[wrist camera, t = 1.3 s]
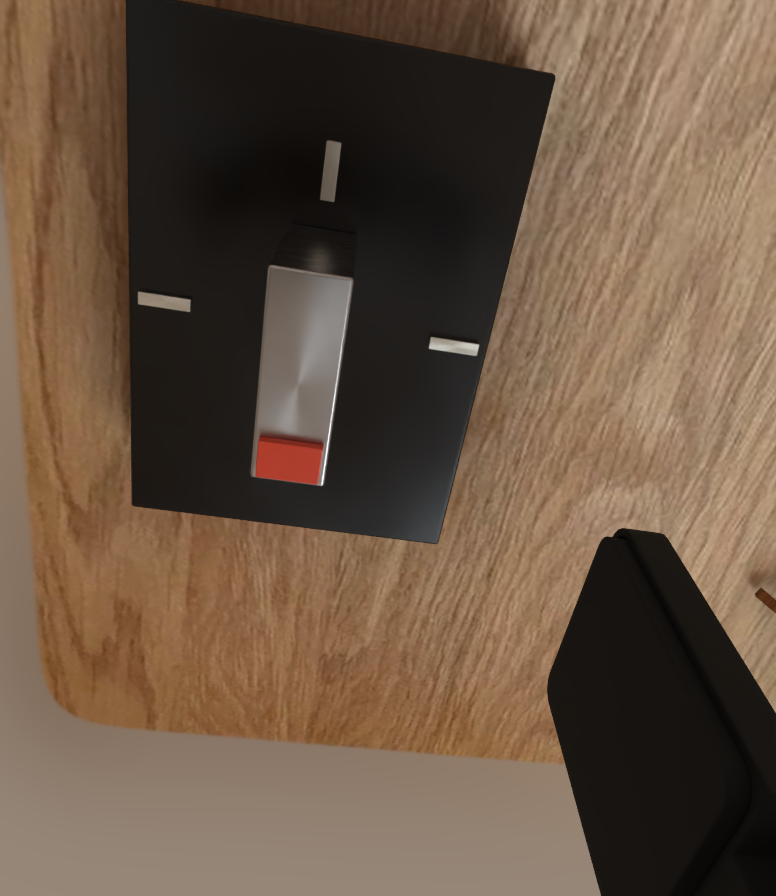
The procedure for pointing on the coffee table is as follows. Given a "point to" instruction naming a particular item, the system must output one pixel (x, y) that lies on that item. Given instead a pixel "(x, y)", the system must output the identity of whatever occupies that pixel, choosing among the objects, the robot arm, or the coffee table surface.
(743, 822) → the robot arm
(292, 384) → the hob knob
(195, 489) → the black square plate
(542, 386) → the coffee table surface
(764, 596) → the glasses
